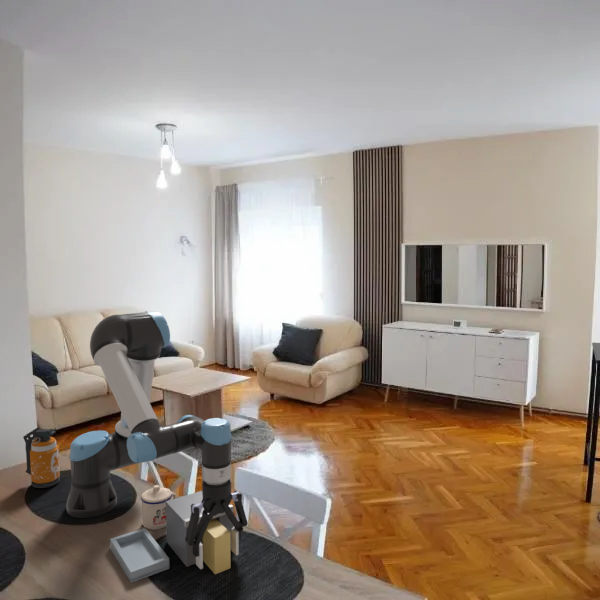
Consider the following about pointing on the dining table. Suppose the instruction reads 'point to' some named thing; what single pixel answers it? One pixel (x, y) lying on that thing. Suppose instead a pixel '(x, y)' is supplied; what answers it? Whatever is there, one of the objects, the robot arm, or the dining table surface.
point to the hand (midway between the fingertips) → (217, 559)
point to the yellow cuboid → (216, 547)
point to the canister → (42, 458)
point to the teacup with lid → (155, 507)
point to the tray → (139, 554)
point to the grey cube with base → (179, 521)
